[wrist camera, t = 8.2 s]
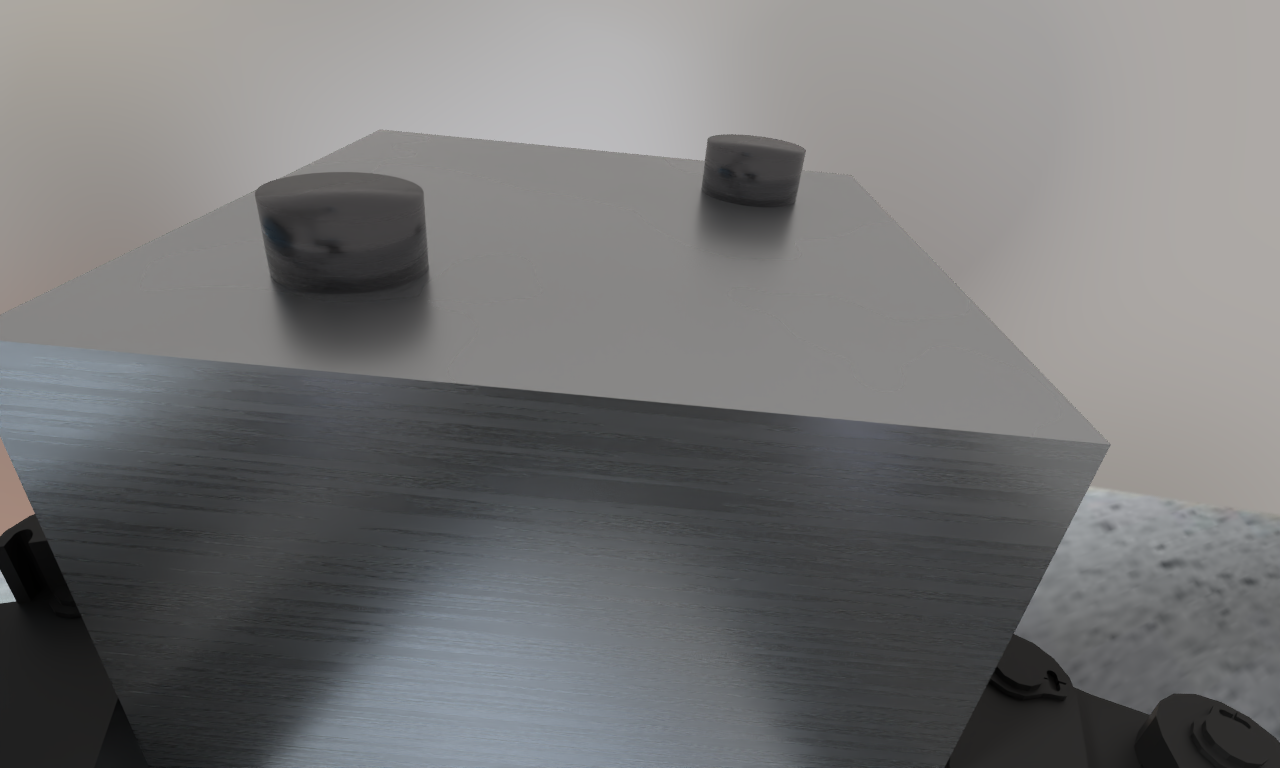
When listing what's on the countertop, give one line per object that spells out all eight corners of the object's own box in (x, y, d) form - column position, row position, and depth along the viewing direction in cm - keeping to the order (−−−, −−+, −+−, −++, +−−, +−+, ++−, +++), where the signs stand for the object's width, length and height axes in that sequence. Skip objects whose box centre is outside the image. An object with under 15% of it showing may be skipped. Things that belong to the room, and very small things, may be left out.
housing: (288, 1074, 10) (-88, 240, 4) (431, 667, 16) (376, 86, 10) (765, 1115, 10) (1155, 357, 4) (730, 693, 16) (861, 132, 10)
